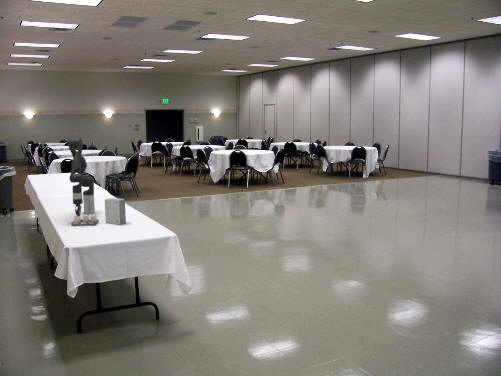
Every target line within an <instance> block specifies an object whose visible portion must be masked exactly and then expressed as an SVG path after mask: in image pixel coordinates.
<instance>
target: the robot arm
mask: <svg viewBox="0 0 501 376" xmlns="http://www.w3.org/2000/svg"><path fill="white" fill-rule="evenodd" d="M67 145H68V148H69V151H70V153H71V156H72V160H71V172H70V175H69V177H68V178H69V181H70V183H73V184H74V183H75V185H73V186H72V204H73V205H75V206H74V213H75V215H76V216H80V217H81V213H82V204H83V215H95V213H96V212H95V211H96V208H95V178H94V177H93V176H85V174H84V173H85V172H86V169H87V167H88V165H87V164H88V163H87V161H86V158H85V157H84V156H83V155H82V154H83V140H82V137H71V138H70V137H69V138H68V140H67ZM76 183H78V184H76ZM82 188H88V189H87V190H83V189H82Z"/></svg>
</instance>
